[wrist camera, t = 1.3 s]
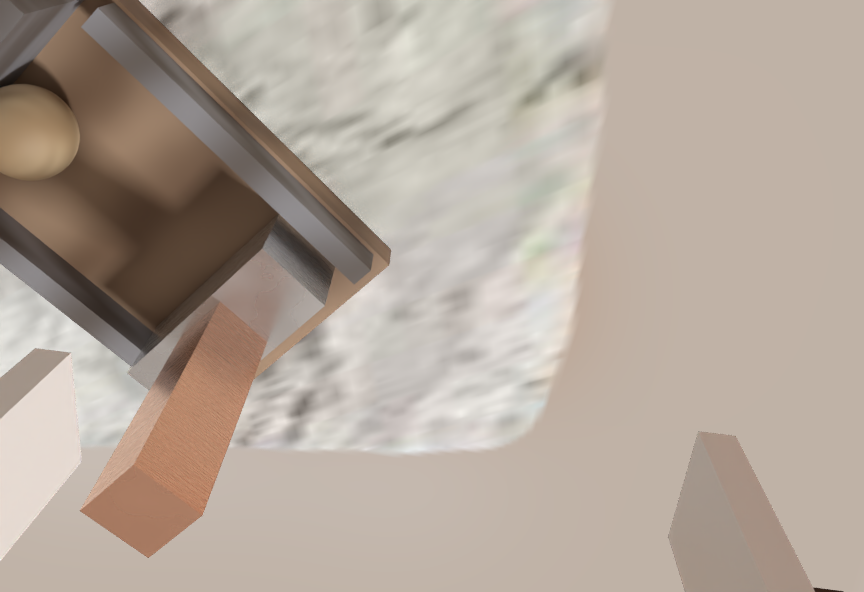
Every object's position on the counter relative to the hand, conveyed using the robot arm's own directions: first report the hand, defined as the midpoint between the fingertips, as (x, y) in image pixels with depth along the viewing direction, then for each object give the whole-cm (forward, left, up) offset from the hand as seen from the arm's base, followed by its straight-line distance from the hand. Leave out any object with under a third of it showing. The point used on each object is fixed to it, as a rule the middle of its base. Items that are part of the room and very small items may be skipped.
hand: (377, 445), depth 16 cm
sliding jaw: (0, -13, -24) cm, 27 cm away
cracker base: (-6, -13, -27) cm, 30 cm away
